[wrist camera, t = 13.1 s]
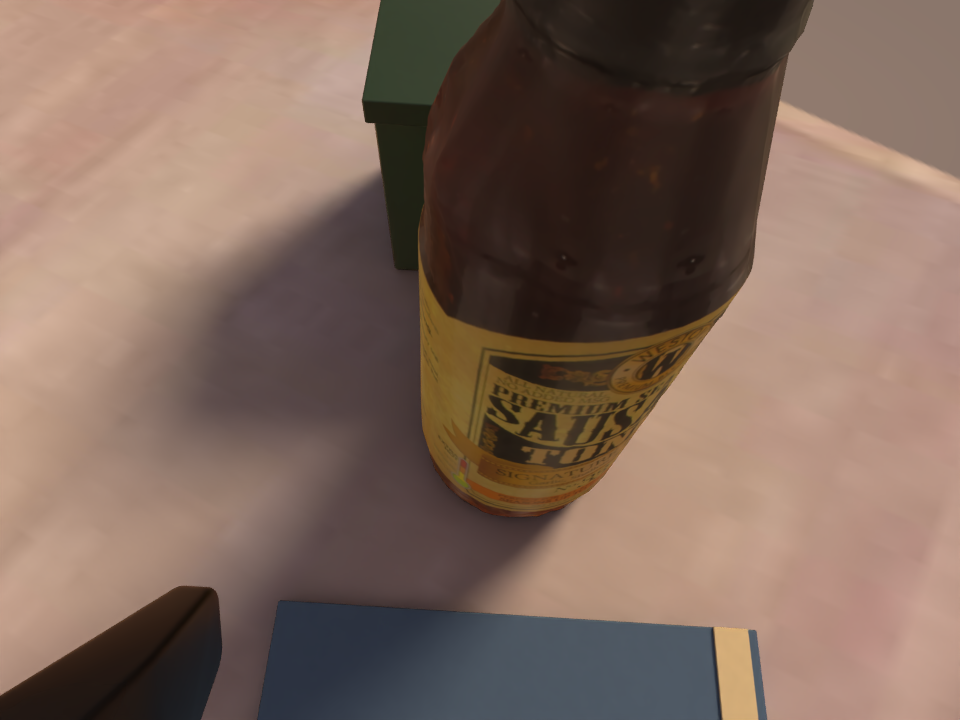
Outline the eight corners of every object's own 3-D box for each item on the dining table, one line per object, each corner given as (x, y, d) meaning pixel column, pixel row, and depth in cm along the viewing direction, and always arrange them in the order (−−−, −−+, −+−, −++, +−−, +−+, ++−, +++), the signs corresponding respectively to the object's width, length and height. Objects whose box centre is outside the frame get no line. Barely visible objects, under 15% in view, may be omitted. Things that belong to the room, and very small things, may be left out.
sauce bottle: (471, 560, 21) (579, -296, 3) (395, 390, 23) (198, -638, 5) (652, 474, 22) (1482, -452, 4) (562, 323, 24) (850, -663, 7)
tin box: (664, 291, 25) (762, 102, 17) (388, 273, 25) (357, 76, 17) (653, 162, 28) (733, -52, 20) (406, 146, 28) (386, -75, 20)
